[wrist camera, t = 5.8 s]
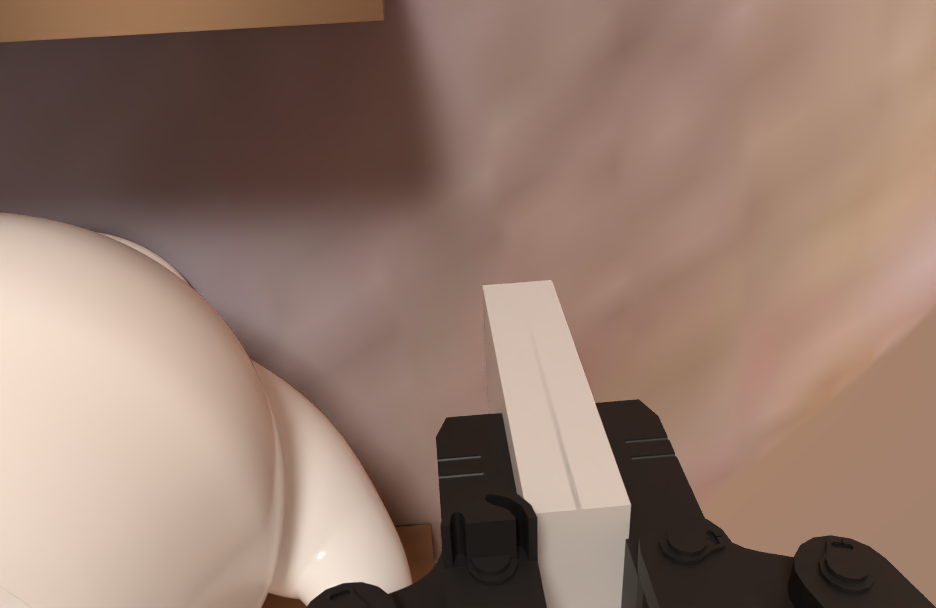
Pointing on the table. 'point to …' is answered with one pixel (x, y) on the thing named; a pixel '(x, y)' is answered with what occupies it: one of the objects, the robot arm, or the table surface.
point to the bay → (183, 10)
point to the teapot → (160, 445)
